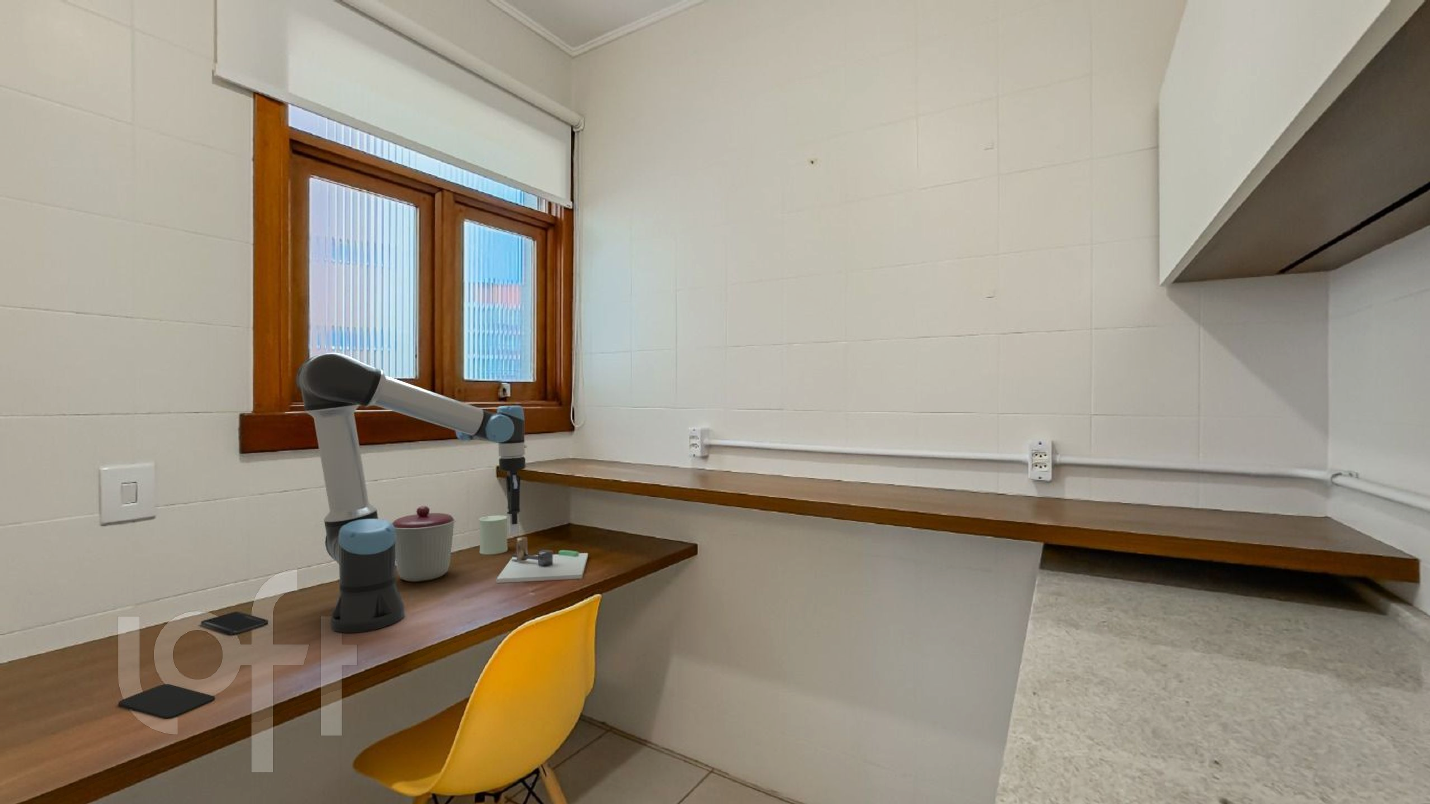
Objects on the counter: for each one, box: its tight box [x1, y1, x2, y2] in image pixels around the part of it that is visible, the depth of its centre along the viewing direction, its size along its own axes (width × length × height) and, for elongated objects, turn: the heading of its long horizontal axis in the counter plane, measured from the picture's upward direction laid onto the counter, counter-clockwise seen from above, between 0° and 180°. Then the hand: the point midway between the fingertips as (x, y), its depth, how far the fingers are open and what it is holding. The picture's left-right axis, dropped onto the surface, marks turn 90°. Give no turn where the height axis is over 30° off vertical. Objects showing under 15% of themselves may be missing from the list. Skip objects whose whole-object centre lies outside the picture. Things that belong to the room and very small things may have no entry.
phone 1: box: [118, 683, 216, 720], centre depth 105 cm, size 7×1×15 cm
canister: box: [391, 505, 457, 582], centre depth 177 cm, size 18×18×21 cm
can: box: [478, 515, 509, 556], centre depth 206 cm, size 9×9×12 cm
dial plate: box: [496, 549, 589, 584], centre depth 184 cm, size 24×24×2 cm
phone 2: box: [200, 611, 269, 636], centre depth 141 cm, size 8×1×15 cm
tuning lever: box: [512, 536, 554, 566], centre depth 186 cm, size 14×4×7 cm, turn 68°
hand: (514, 534), depth 180 cm, fingers closed
